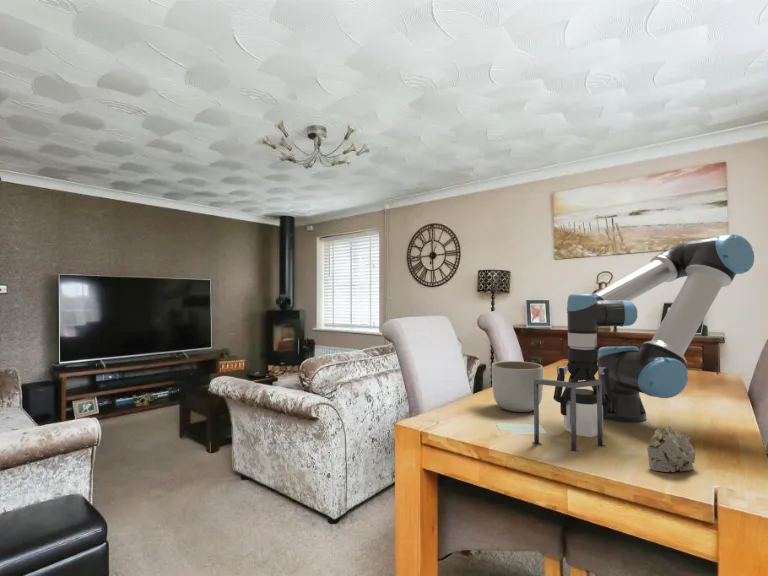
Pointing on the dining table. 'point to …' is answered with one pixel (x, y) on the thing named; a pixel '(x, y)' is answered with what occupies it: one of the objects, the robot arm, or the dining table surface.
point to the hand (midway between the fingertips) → (583, 426)
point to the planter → (516, 384)
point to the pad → (520, 428)
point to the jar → (585, 413)
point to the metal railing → (573, 408)
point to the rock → (670, 451)
